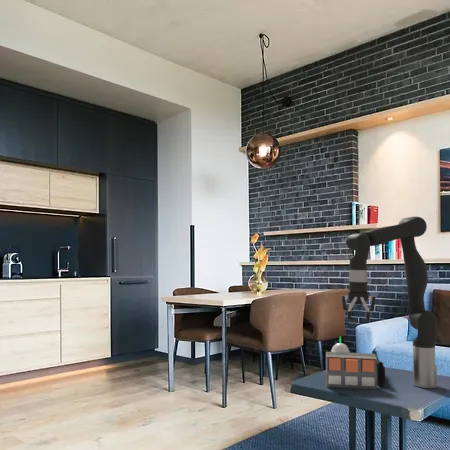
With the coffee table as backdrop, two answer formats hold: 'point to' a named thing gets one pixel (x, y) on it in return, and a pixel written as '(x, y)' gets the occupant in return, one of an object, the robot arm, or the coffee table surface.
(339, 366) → the switch
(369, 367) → the switch
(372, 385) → the dark grey block
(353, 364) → the switch
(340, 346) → the smoothie
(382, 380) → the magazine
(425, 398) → the coffee table surface
